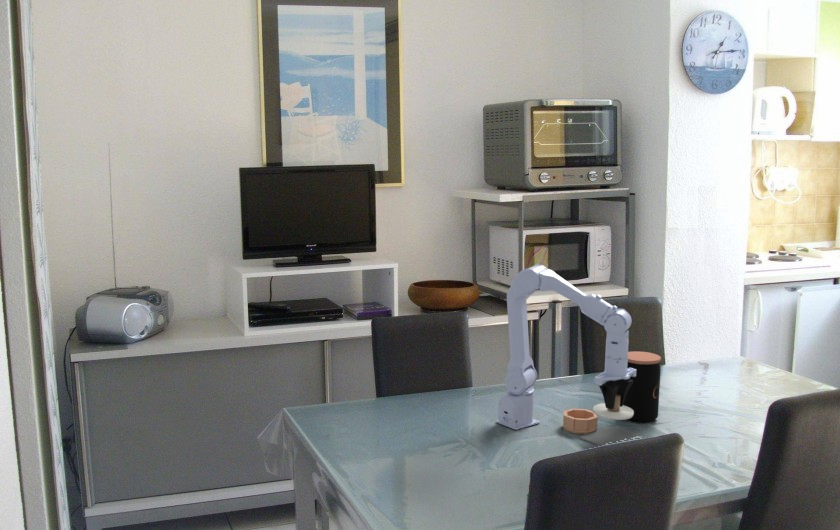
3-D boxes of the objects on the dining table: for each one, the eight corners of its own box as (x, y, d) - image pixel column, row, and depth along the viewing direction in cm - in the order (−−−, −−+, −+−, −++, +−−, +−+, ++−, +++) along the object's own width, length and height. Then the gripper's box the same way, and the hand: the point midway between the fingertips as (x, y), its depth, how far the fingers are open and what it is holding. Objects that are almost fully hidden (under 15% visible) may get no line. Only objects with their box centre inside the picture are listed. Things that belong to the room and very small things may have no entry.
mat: (611, 450, 215) (611, 449, 215) (578, 438, 224) (578, 436, 224) (646, 439, 224) (646, 437, 224) (613, 427, 232) (613, 426, 232)
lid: (616, 422, 216) (617, 404, 215) (584, 410, 224) (585, 393, 223) (641, 414, 222) (643, 397, 221) (610, 403, 230) (611, 386, 229)
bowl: (581, 436, 225) (581, 422, 225) (556, 427, 232) (556, 413, 232) (603, 429, 231) (604, 415, 230) (578, 420, 238) (579, 406, 237)
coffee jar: (659, 425, 234) (662, 362, 232) (619, 422, 236) (622, 359, 234) (656, 413, 245) (659, 352, 242) (618, 410, 247) (621, 350, 244)
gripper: (610, 364, 213) (608, 416, 215) (646, 355, 222) (644, 405, 224) (588, 358, 218) (586, 409, 221) (625, 349, 227) (622, 398, 229)
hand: (614, 406), depth 223 cm, fingers closed on lid, 3 cm apart
